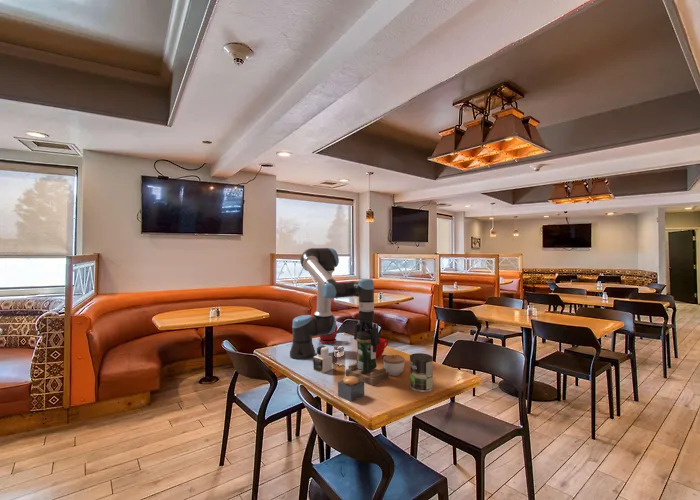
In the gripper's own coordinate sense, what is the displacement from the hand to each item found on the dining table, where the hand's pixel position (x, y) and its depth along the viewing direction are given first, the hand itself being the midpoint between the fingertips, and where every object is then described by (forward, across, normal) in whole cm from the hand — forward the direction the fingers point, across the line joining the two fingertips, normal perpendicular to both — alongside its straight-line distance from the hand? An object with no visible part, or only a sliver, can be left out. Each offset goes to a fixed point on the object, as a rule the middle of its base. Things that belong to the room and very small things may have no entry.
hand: (366, 356), depth 166 cm
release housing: (+10, +10, -20) cm, 25 cm away
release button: (+10, +10, -20) cm, 25 cm away
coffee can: (+11, +26, +8) cm, 29 cm away
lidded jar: (+11, +6, +14) cm, 18 cm away
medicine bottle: (+11, -24, -8) cm, 28 cm away
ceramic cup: (+11, -19, +28) cm, 36 cm away
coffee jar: (+6, 0, 0) cm, 6 cm away
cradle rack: (+10, 0, 0) cm, 10 cm away
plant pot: (+11, -64, +28) cm, 71 cm away
